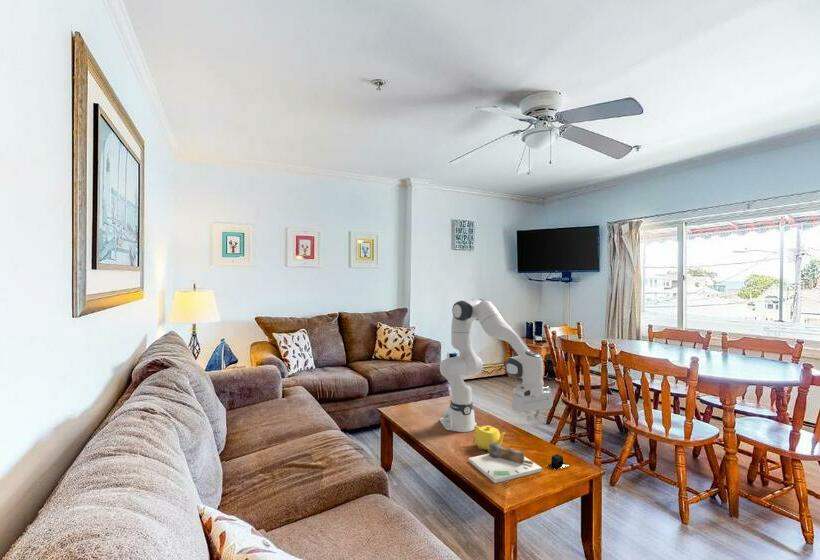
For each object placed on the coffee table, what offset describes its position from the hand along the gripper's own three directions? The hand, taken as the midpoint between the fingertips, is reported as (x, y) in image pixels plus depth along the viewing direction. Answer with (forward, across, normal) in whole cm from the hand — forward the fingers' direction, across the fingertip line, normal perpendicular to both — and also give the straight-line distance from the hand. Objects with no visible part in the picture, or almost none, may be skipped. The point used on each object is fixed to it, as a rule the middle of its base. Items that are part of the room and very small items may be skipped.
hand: (532, 419), depth 172 cm
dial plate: (+19, +14, -2) cm, 24 cm away
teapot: (+19, +10, -19) cm, 29 cm away
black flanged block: (+20, -8, +6) cm, 22 cm away
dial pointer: (+17, +10, -3) cm, 20 cm away
